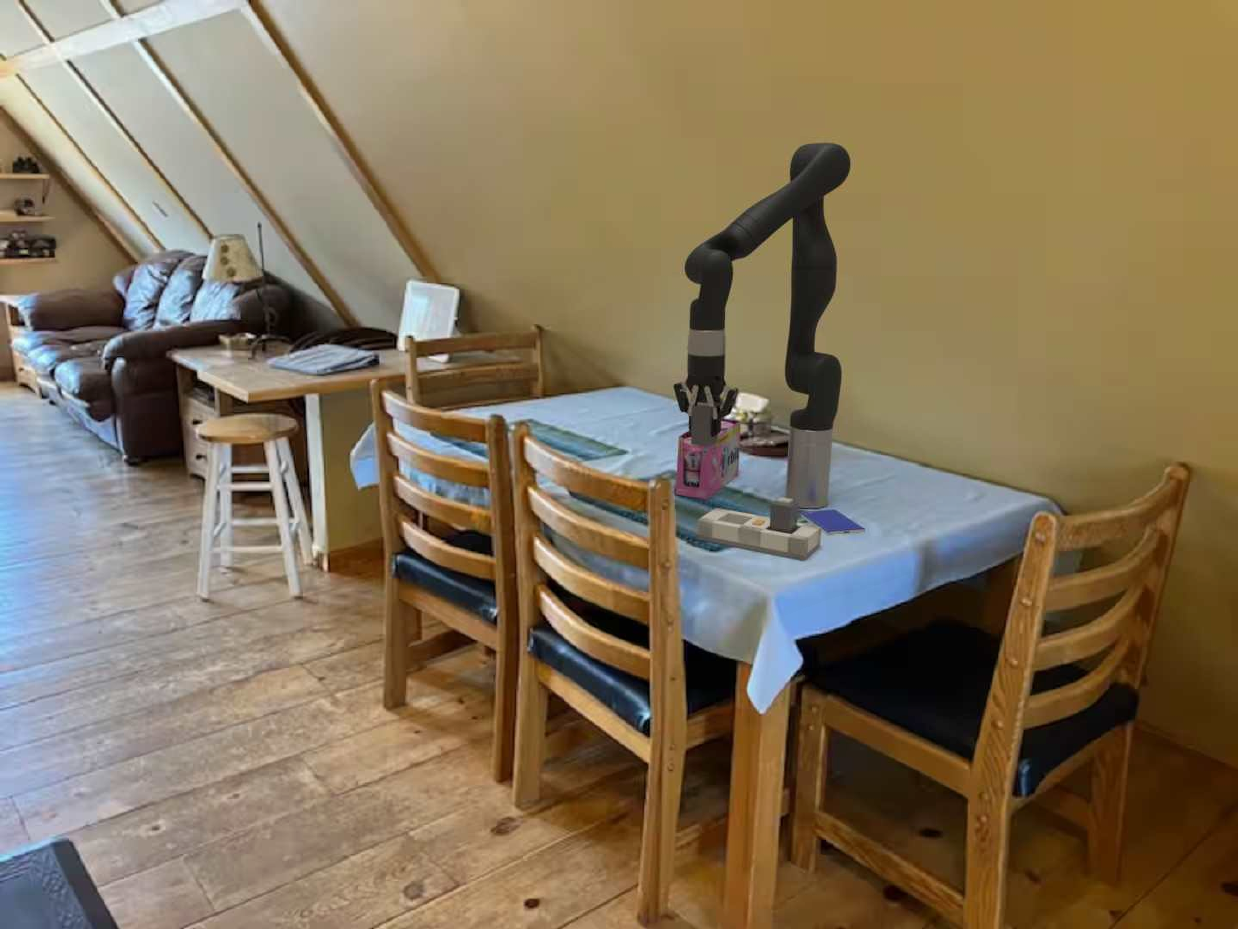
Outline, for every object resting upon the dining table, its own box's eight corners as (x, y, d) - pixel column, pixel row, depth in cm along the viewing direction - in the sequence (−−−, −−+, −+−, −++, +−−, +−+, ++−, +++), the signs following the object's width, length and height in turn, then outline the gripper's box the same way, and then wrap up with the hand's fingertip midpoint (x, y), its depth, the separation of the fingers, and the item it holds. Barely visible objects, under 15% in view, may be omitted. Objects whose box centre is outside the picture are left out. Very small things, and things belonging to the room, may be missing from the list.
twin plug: (776, 537, 193) (778, 495, 190) (796, 541, 191) (798, 498, 188) (768, 543, 189) (771, 500, 187) (788, 547, 187) (791, 504, 185)
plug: (699, 439, 206) (700, 399, 203) (717, 442, 204) (718, 401, 201) (691, 443, 202) (691, 402, 200) (708, 446, 200) (710, 404, 198)
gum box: (705, 501, 218) (708, 441, 215) (672, 497, 221) (674, 437, 218) (739, 475, 239) (741, 420, 236) (708, 471, 242) (710, 416, 239)
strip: (696, 539, 194) (697, 518, 193) (715, 526, 202) (716, 506, 201) (803, 560, 184) (805, 538, 182) (820, 546, 191) (821, 525, 190)
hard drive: (801, 511, 209) (828, 530, 197) (836, 509, 211) (865, 527, 199) (800, 518, 209) (827, 538, 198) (835, 516, 211) (864, 535, 200)
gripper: (747, 351, 197) (744, 435, 202) (683, 345, 204) (681, 426, 209) (731, 357, 191) (728, 443, 196) (666, 350, 198) (665, 434, 203)
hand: (704, 434), depth 202 cm, fingers closed on plug, 4 cm apart
